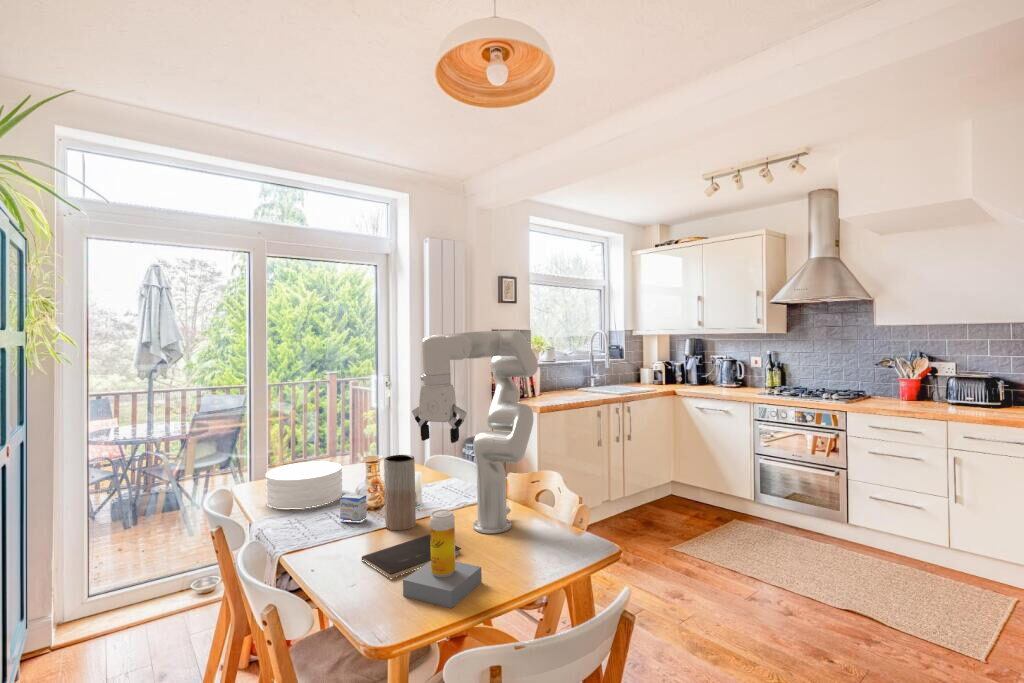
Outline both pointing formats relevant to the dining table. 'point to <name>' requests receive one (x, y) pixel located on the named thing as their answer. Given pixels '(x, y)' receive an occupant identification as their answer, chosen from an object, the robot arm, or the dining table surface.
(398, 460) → the planter
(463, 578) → the plate
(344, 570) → the dining table surface
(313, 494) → the plate stack
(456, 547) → the hardcover book
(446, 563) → the beer can
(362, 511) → the medicine box
